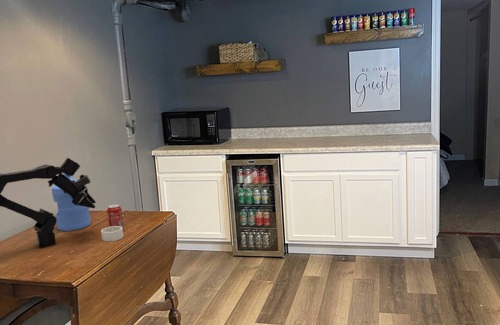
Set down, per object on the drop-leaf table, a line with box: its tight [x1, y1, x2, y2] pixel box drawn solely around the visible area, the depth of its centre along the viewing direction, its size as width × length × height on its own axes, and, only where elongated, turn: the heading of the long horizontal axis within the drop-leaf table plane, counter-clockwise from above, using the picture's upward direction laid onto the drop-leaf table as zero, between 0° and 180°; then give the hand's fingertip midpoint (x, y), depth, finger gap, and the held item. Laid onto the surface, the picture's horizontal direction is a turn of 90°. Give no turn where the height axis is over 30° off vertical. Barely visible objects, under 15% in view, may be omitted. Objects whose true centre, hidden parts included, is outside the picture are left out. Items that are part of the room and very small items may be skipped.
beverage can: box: [106, 204, 125, 229], centre depth 221 cm, size 6×6×12 cm
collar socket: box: [100, 226, 124, 243], centre depth 212 cm, size 9×9×4 cm
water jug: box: [51, 173, 92, 232], centre depth 232 cm, size 16×16×28 cm
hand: (95, 205), depth 218 cm, fingers open, 9 cm apart
